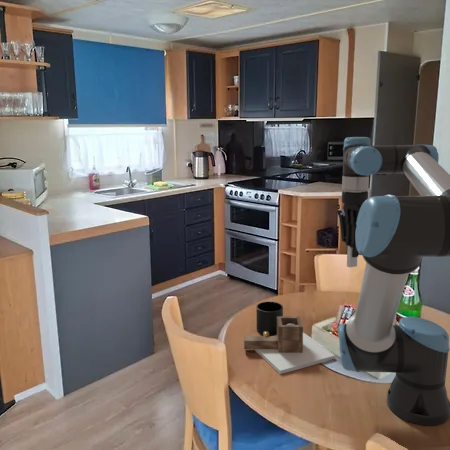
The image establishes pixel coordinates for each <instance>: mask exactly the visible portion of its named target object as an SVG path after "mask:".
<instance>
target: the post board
mask: <svg viewBox="0 0 450 450" xmlns="http://www.w3.org/2000/svg"><path fill="white" fill-rule="evenodd" d="M286 325H295V324H291V323H290V324H286ZM274 336H277V335H274ZM253 350H254V351H255V353H257V354H258V355H259V356H260V357H261V358H262V359H263V360H265V362H267V363H268V364H269V365H270V366H271V367H272V368H273V369H274V370H275V371H276V372H277V373H278V374H279V375H282V374H286V373H290V372H292V371H297V370H300V369H304V368H307V367H310V366H314V365H319V364H321V363H325V362H329V361H331V360H332V359H333V360H335V359H336V355H335V354H334V353H332V352H331V351H330V350H328V349H327V348H325V346H323V345H321V344H320V343H319V342H318V341H316V340H315V341H314V339H313V338H312V337H310V336H309V335H308V334H306V333H305V332H303V353H279V352H278V349H253ZM328 360H329V361H328Z"/></svg>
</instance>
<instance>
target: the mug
mask: <svg viewBox="0 0 450 450" xmlns="http://www.w3.org/2000/svg"><path fill="white" fill-rule="evenodd" d="M255 309H256V331H257V333H258V334H261V335H263V332H264V331H268V332H269V336H275V335H277V317H279V316H284V306H283V304H281V303H280V302H278V301H277V302H276V301H262V302H259V303H258V304H257V305H256V307H255Z"/></svg>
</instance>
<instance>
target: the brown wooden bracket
mask: <svg viewBox="0 0 450 450" xmlns="http://www.w3.org/2000/svg"><path fill="white" fill-rule="evenodd" d="M290 323H291V324H295V325H286V324H290ZM303 325H304V324H303V322H302V319H301V316H298V315H297V316H295V315H293V316H292V315H290V316H285V315H283V316H279V317H277V336H275V335H269V336H260V335H259V336H256V335H255V336H248V335H247V336H243V348H244V349H243V350H254V349H278V352H279V353H303V333H304V326H303Z"/></svg>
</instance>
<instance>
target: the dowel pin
mask: <svg viewBox="0 0 450 450" xmlns="http://www.w3.org/2000/svg"><path fill="white" fill-rule="evenodd" d="M262 335H263V336H270V335H269V332H268V331H264V332H263V334H262Z"/></svg>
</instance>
